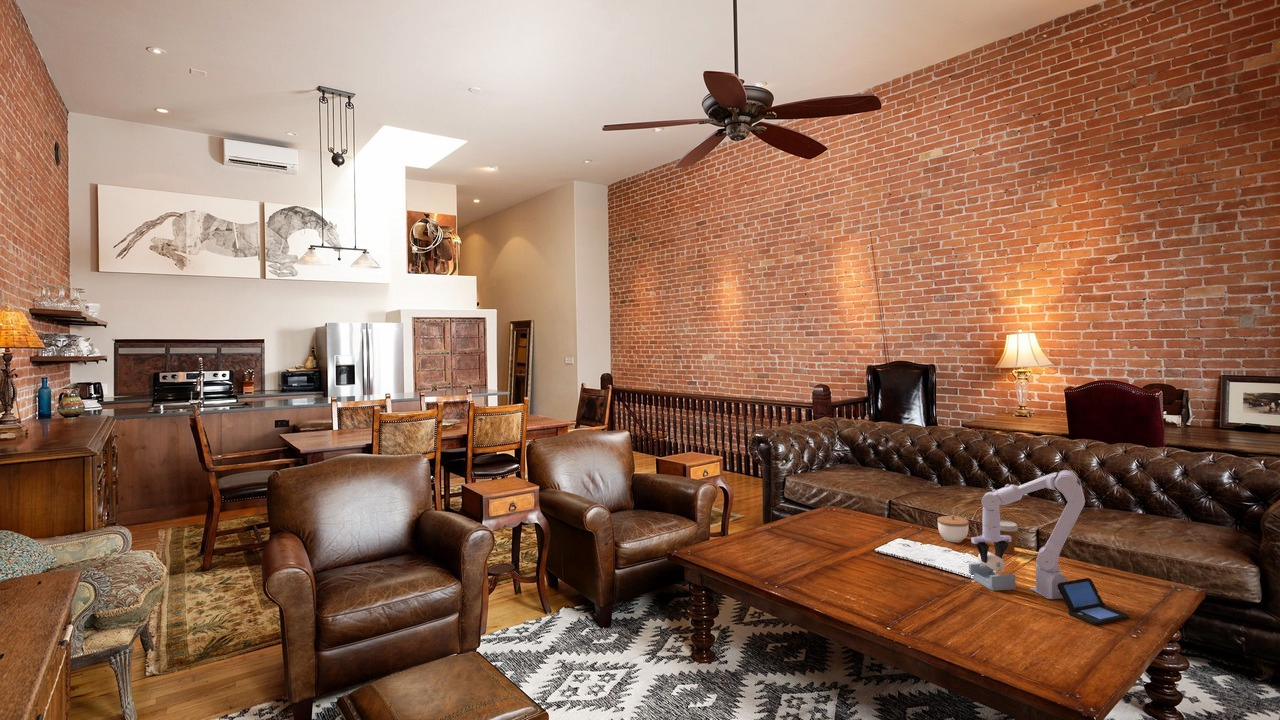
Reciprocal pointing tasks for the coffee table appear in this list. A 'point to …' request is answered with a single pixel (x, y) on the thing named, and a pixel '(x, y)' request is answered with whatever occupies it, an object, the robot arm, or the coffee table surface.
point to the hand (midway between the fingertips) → (991, 561)
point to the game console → (1088, 602)
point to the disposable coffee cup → (1009, 534)
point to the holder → (991, 577)
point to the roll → (993, 562)
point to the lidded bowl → (953, 528)
